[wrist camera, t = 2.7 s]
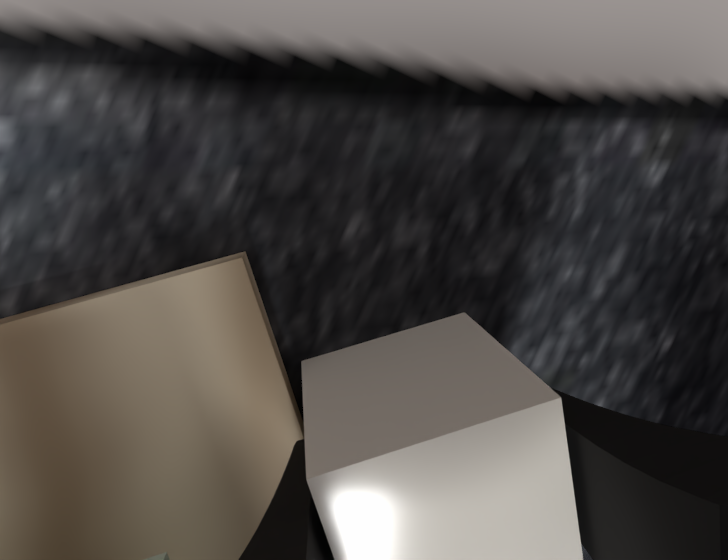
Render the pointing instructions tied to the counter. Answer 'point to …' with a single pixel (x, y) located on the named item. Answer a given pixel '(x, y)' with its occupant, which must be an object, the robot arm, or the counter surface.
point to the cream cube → (437, 450)
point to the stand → (143, 420)
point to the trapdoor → (159, 557)
